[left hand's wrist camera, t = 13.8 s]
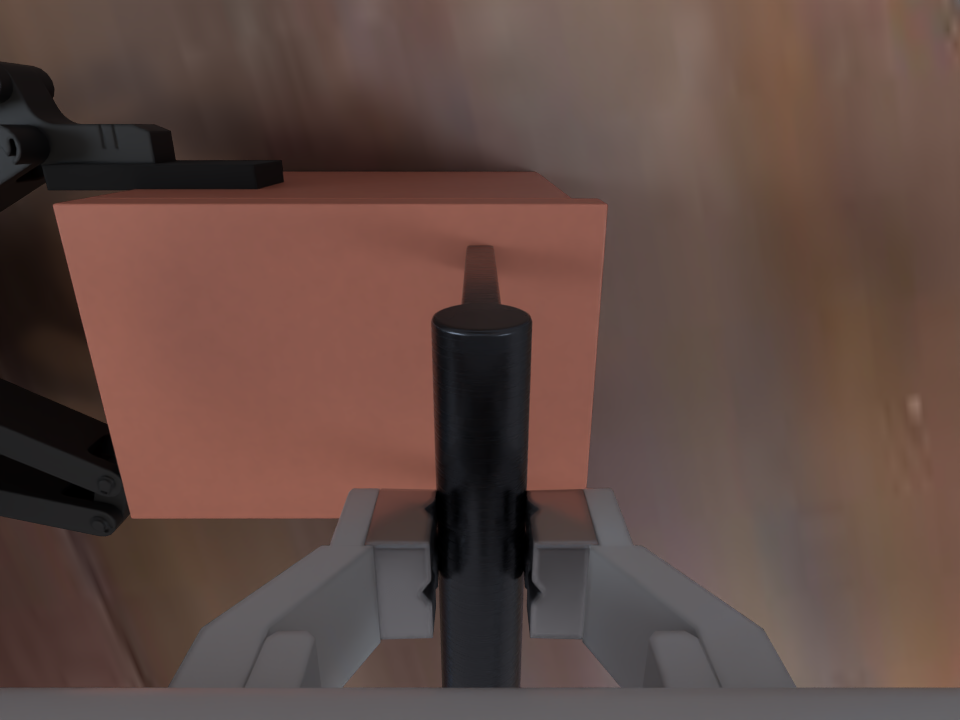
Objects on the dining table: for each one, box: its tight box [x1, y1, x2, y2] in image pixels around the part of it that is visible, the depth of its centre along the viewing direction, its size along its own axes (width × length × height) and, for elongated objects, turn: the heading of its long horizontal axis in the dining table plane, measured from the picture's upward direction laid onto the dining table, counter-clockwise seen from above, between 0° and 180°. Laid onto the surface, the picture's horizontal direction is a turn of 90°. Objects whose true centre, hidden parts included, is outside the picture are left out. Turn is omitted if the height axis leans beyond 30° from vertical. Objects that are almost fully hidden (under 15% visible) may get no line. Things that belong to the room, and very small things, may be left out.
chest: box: [88, 172, 572, 199], centre depth 23 cm, size 13×10×11 cm
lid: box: [53, 198, 608, 688], centre depth 14 cm, size 14×10×9 cm
